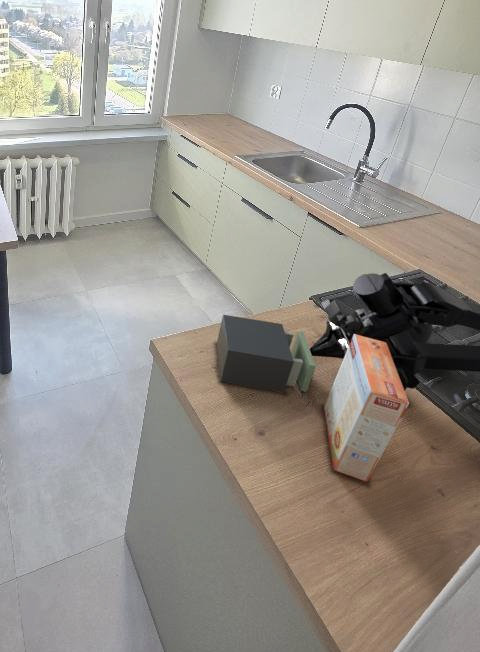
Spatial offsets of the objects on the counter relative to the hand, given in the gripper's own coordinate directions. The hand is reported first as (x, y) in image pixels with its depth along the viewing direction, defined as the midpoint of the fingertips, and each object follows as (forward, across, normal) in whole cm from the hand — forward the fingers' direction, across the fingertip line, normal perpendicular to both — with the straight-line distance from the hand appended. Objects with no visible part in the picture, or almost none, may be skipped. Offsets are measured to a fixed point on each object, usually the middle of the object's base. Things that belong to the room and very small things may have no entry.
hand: (309, 353), depth 92 cm
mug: (-14, -15, +25) cm, 32 cm away
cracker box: (+2, +14, +8) cm, 17 cm away
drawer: (+9, 0, 0) cm, 9 cm away
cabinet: (+14, 0, -3) cm, 14 cm away
